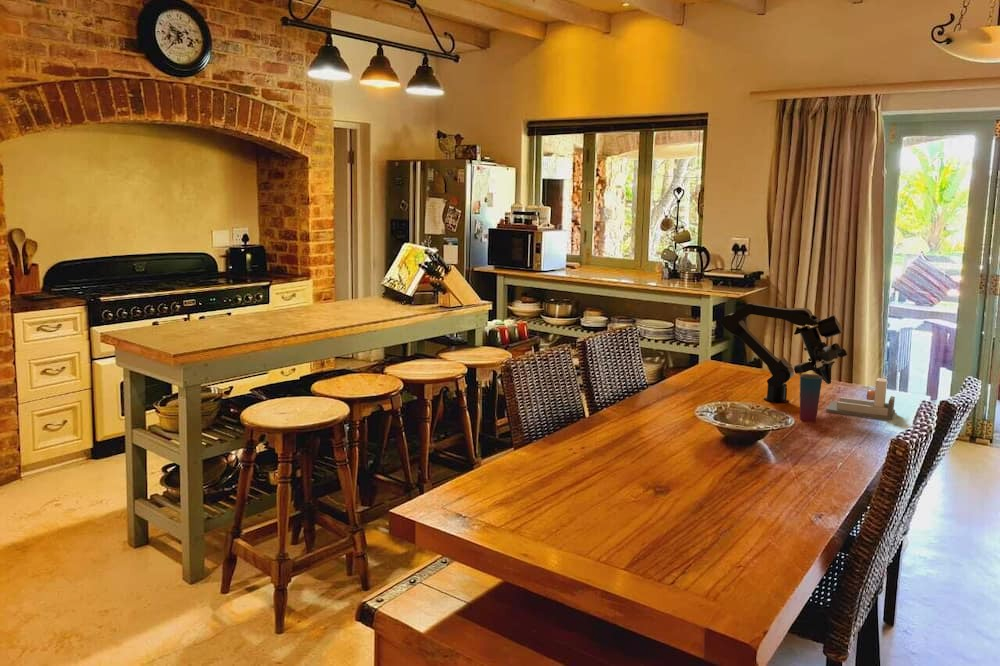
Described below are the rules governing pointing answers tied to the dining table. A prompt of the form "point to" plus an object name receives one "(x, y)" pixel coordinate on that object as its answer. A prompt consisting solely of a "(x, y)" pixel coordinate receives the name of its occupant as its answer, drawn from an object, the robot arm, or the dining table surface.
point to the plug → (878, 393)
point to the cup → (809, 396)
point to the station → (863, 408)
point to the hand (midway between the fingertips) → (829, 383)
